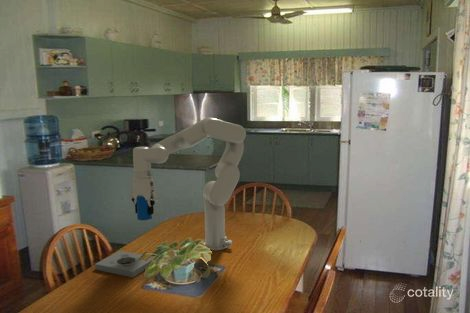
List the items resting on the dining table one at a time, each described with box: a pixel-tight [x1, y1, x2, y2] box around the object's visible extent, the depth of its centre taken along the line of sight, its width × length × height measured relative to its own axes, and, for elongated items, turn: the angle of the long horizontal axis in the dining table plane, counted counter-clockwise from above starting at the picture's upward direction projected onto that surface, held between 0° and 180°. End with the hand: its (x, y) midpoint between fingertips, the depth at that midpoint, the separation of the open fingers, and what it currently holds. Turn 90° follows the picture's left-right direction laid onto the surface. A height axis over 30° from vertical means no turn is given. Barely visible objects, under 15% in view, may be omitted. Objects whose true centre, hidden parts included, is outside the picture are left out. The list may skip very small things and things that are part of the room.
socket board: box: [94, 250, 153, 279], centre depth 181 cm, size 20×16×2 cm
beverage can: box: [136, 195, 153, 223], centre depth 190 cm, size 6×6×12 cm
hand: (144, 213), depth 191 cm, fingers closed on beverage can, 6 cm apart
